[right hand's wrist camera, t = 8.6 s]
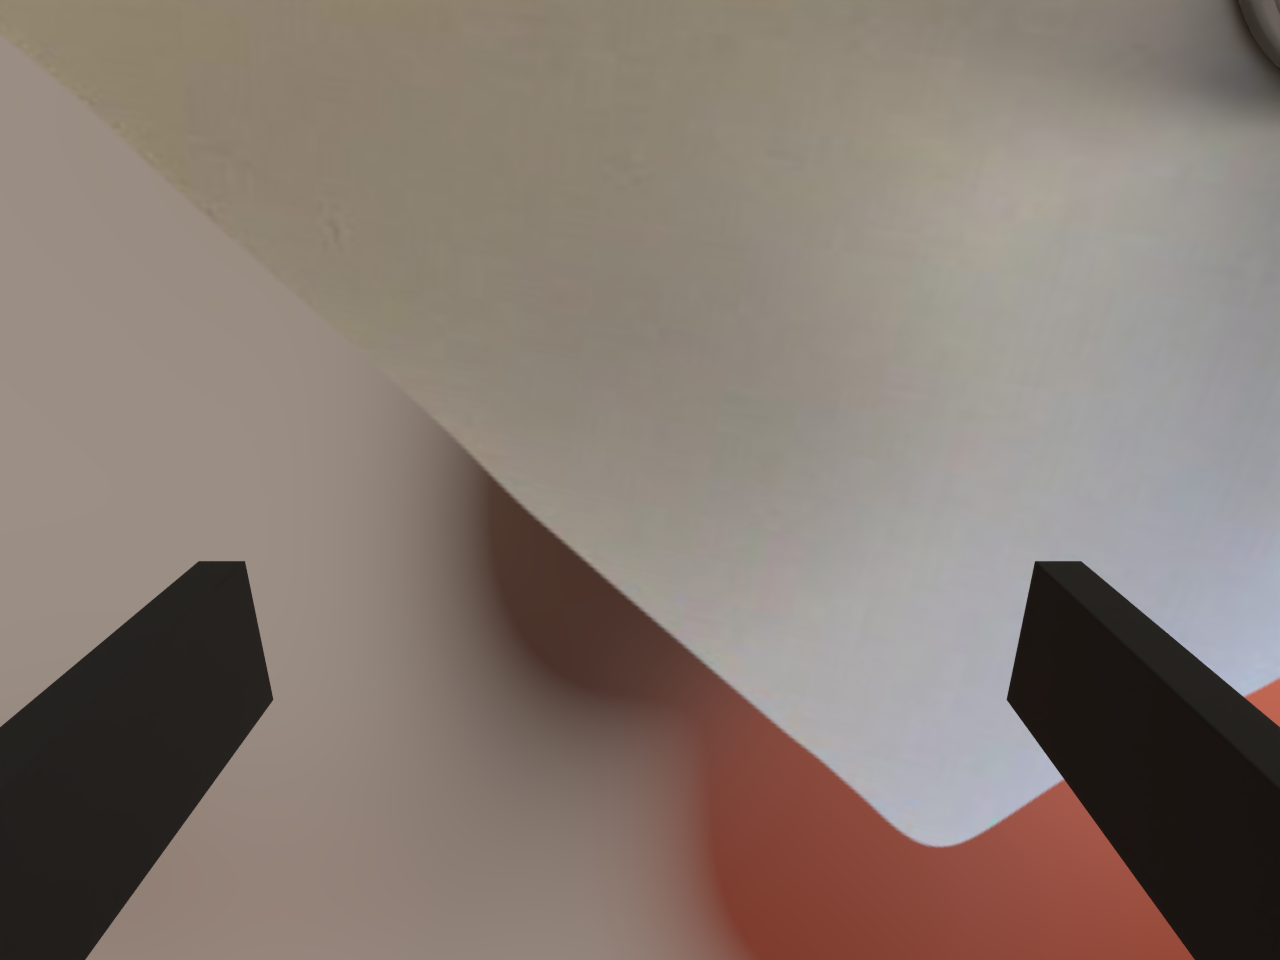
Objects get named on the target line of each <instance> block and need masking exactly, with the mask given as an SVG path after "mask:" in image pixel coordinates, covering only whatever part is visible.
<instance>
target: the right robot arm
mask: <svg viewBox="0 0 1280 960" xmlns="http://www.w3.org/2000/svg"><path fill="white" fill-rule="evenodd" d="M1238 2H1239V5H1240V8H1241V11H1242V13H1243V16H1244V19H1245V21H1246V23H1247V25H1248V27H1249V30H1250V32H1251V34H1252V36H1253V37H1254V39H1255V40H1256V42H1257V43H1258V45H1259V46H1260V48H1261V49H1262V51H1263V52H1264V53H1265V54H1266V56H1267V57H1268V58H1269V59H1270V60H1271V61H1272V63H1273V64H1274V65H1276V66H1277V67H1278V68H1279V69H1280V0H1238ZM272 701H273V696H272V691H271V686H270V681H269V677H268V672H267V667H266V662H265V657H264V652H263V647H262V642H261V637H260V633H259V628H258V623H257V618H256V613H255V608H254V603H253V598H252V594H251V589H250V584H249V579H248V574H247V569H246V564H245V561H199V562H197V563H196V564H195V565H194V566H193V567H192V568H190V569H189V570H188V571H187V572H185V573H184V574H183V575H182V576H181V577H180V578H178V579H177V580H176V581H175V582H174V583H172V584H171V585H170V586H169V587H168V588H166V589H165V590H164V591H163V592H162V593H160V594H159V595H158V596H157V597H156V598H154V599H153V600H152V601H151V602H150V603H148V604H147V605H146V606H145V607H144V608H142V609H141V610H140V611H139V612H138V613H136V614H135V615H134V616H133V617H132V618H130V619H129V620H128V621H127V622H126V623H124V624H123V625H122V626H121V627H120V628H119V629H117V630H116V631H115V632H114V633H113V634H111V635H110V636H109V637H108V638H107V639H105V640H104V641H103V642H102V643H101V644H99V645H98V646H97V647H96V648H95V649H93V650H92V651H91V652H90V653H89V654H87V655H86V656H85V657H84V658H83V659H81V660H80V661H79V662H78V663H77V664H75V665H74V666H73V667H72V668H71V669H69V670H68V671H67V672H66V673H65V674H63V675H62V676H61V677H60V678H59V679H57V680H56V681H55V682H54V683H53V684H51V685H50V686H49V687H48V688H47V689H45V690H44V691H43V692H42V693H41V694H39V695H38V696H37V697H36V698H35V699H34V700H32V701H31V702H30V703H29V704H28V705H26V706H25V707H24V708H23V709H22V710H20V711H19V712H18V713H17V714H16V715H14V716H13V717H12V718H11V719H10V720H8V721H7V722H6V723H5V724H4V725H2V726H1V727H0V960H85V959H86V958H87V956H88V955H89V954H90V952H91V951H92V949H93V948H94V947H95V945H96V944H97V943H98V941H99V940H100V938H101V937H102V936H103V934H104V933H105V932H106V930H107V929H108V927H109V926H110V925H111V923H112V922H113V920H114V919H115V918H116V916H117V915H118V914H119V912H120V911H121V909H122V908H123V907H124V905H125V904H126V903H127V901H128V900H129V898H130V897H131V896H132V894H133V893H134V891H135V890H136V889H137V887H138V886H139V884H140V883H141V882H142V880H143V879H144V877H145V876H146V875H147V873H148V872H149V871H150V869H151V868H152V867H153V865H154V864H155V862H156V861H157V860H158V858H159V857H160V856H161V854H162V853H163V851H164V850H165V849H166V847H167V846H168V844H169V843H170V842H171V840H172V839H173V838H174V836H175V835H176V833H177V832H178V831H179V829H180V828H181V826H182V825H183V824H184V822H185V821H186V820H187V818H188V817H189V815H190V814H191V813H192V811H193V810H194V809H195V807H196V806H197V804H198V803H199V802H200V800H201V799H202V797H203V796H204V795H205V793H206V792H207V791H208V789H209V788H210V786H211V785H212V784H213V782H214V781H215V779H216V778H217V777H218V775H219V774H220V772H221V771H222V770H223V768H224V767H225V766H226V764H227V763H228V762H229V760H230V759H231V757H232V756H233V755H234V753H235V752H236V750H237V749H238V748H239V746H240V745H241V744H242V742H243V741H244V739H245V738H246V737H247V735H248V734H249V732H250V731H251V730H252V728H253V727H254V726H255V724H256V723H257V721H258V720H259V719H260V717H261V716H262V715H263V713H264V712H265V710H266V709H267V707H268V706H269V705H270V703H271V702H272ZM1007 701H1008V702H1009V703H1010V705H1011V706H1012V708H1013V709H1014V710H1015V712H1016V713H1017V715H1018V716H1019V717H1020V719H1021V720H1022V721H1023V723H1024V724H1025V726H1026V727H1027V728H1028V730H1029V731H1030V732H1031V734H1032V735H1033V737H1034V738H1035V739H1036V741H1037V742H1038V744H1039V745H1040V746H1041V748H1042V749H1043V750H1044V752H1045V753H1046V755H1047V756H1048V757H1049V759H1050V760H1051V762H1052V763H1053V764H1054V766H1055V767H1056V768H1057V770H1058V771H1059V773H1060V774H1061V775H1062V777H1063V778H1064V779H1065V781H1066V782H1067V784H1068V785H1069V786H1070V788H1071V789H1072V790H1073V792H1074V793H1075V795H1076V796H1077V797H1078V799H1079V800H1080V802H1081V803H1082V804H1083V806H1084V807H1085V808H1086V810H1087V811H1088V813H1089V814H1090V815H1091V817H1092V818H1093V819H1094V821H1095V822H1096V824H1097V825H1098V826H1099V828H1100V829H1101V831H1102V832H1103V833H1104V835H1105V836H1106V838H1107V839H1108V840H1109V842H1110V843H1111V844H1112V846H1113V847H1114V849H1115V850H1116V851H1117V853H1118V854H1119V855H1120V857H1121V858H1122V860H1123V861H1124V862H1125V864H1126V865H1127V867H1128V868H1129V869H1130V871H1131V872H1132V873H1133V875H1134V876H1135V878H1136V879H1137V880H1138V882H1139V883H1140V884H1141V886H1142V887H1143V889H1144V890H1145V891H1146V893H1147V894H1148V896H1149V897H1150V898H1151V900H1152V901H1153V902H1154V904H1155V905H1156V907H1157V908H1158V909H1159V911H1160V912H1161V913H1162V915H1163V916H1164V918H1165V919H1166V920H1167V922H1168V923H1169V925H1170V926H1171V927H1172V929H1173V930H1174V932H1175V933H1176V934H1177V936H1178V937H1179V938H1180V940H1181V941H1182V943H1183V944H1184V945H1185V947H1186V948H1187V950H1188V951H1189V952H1190V954H1191V955H1192V956H1193V958H1194V959H1195V960H1280V727H1279V726H1278V725H1276V724H1275V723H1274V722H1273V721H1272V720H1270V719H1269V718H1268V717H1267V716H1266V715H1264V714H1263V713H1262V712H1261V711H1260V710H1258V709H1257V708H1256V707H1255V706H1254V705H1252V704H1251V703H1250V702H1249V701H1248V700H1246V699H1245V698H1244V697H1243V696H1242V695H1240V694H1239V693H1238V692H1237V691H1236V690H1235V689H1233V688H1232V687H1231V686H1230V685H1229V684H1227V683H1226V682H1225V681H1224V680H1223V679H1221V678H1220V677H1219V676H1218V675H1217V674H1215V673H1214V672H1213V671H1212V670H1211V669H1209V668H1208V667H1207V666H1206V665H1205V664H1203V663H1202V662H1201V661H1200V660H1199V659H1197V658H1196V657H1195V656H1194V655H1193V654H1191V653H1190V652H1189V651H1188V650H1187V649H1185V648H1184V647H1183V646H1182V645H1181V644H1179V643H1178V642H1177V641H1176V640H1175V639H1173V638H1172V637H1171V636H1170V635H1169V634H1168V633H1166V632H1165V631H1164V630H1163V629H1162V628H1160V627H1159V626H1158V625H1157V624H1156V623H1154V622H1153V621H1152V620H1151V619H1150V618H1148V617H1147V616H1146V615H1145V614H1144V613H1142V612H1141V611H1140V610H1139V609H1138V608H1136V607H1135V606H1134V605H1133V604H1132V603H1130V602H1129V601H1128V600H1127V599H1126V598H1124V597H1123V596H1122V595H1121V594H1120V593H1118V592H1117V591H1116V590H1115V589H1114V588H1112V587H1111V586H1110V585H1109V584H1108V583H1106V582H1105V581H1104V580H1103V579H1102V578H1100V577H1099V576H1098V575H1097V574H1096V573H1095V572H1093V571H1092V570H1091V569H1090V568H1089V567H1087V566H1086V565H1085V564H1084V563H1083V562H1081V561H1035V564H1034V569H1033V574H1032V579H1031V584H1030V589H1029V593H1028V598H1027V603H1026V608H1025V613H1024V618H1023V623H1022V628H1021V633H1020V637H1019V642H1018V647H1017V652H1016V657H1015V662H1014V667H1013V672H1012V676H1011V681H1010V686H1009V691H1008V696H1007Z"/></svg>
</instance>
